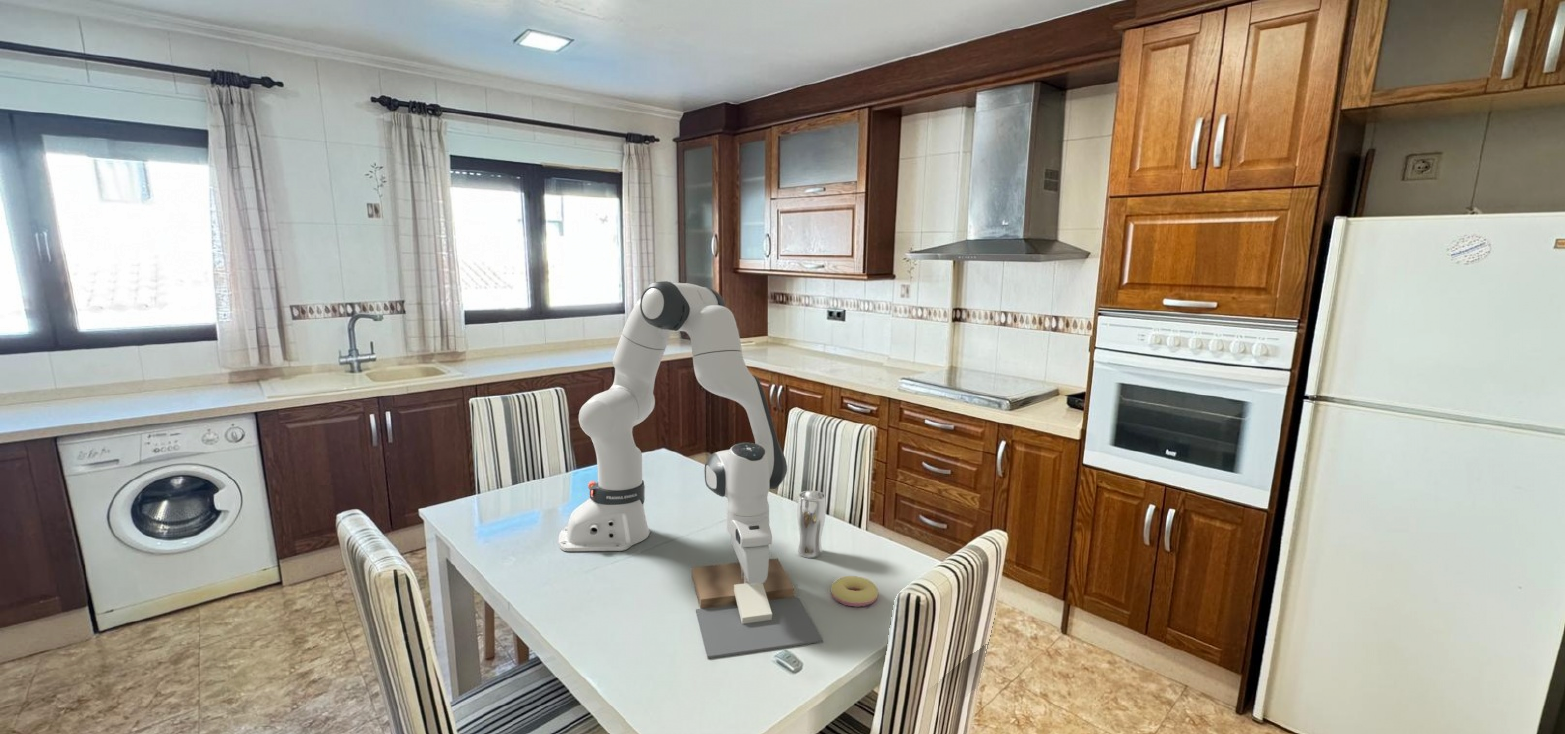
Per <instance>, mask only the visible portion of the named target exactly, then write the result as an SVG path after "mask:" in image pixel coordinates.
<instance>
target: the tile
mask: <svg viewBox="0 0 1565 734" xmlns="http://www.w3.org/2000/svg"><path fill="white" fill-rule="evenodd" d="M734 594H735V598H736V602H737V606H738V610H739V614H740V618H741V622H742V624H744V623H752V622H759V621H767V620H772V612H771V609H770V605H769V602H768V599H767V596H766V592H765V589H764V586H763V583H761V584H753V585H751V584H749V583H745V584H736V585H734Z"/></svg>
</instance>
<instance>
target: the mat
mask: <svg viewBox="0 0 1565 734" xmlns="http://www.w3.org/2000/svg"><path fill="white" fill-rule="evenodd" d="M768 602H769V605H770V609H771V612H772V620H767V621H759V622H752V623H744V624H742V622H741V618H740V614H739V610H738V606H737V604H733V605H725V606H717V607H709V608H700V607H699V608H695V612H696V617H697V621H698V624H699V629H700V633H701V637H702V641H703V645H704V649H705V654H706V658H707V660H708V659H715V658H716V657H717V658H722V656H723V657H730V656H736V655H744V654H749V653H758V652H764V651H770V650H776V649H777V650H779V649H784V648H785V647H786V648H792V646H793V647H798V646H797V645H800V646H805V645H804V644H807V645H812V643H814V644H819V643H820V642H821V643H823V642H824V639H823V638H822V635H821V634H820V632H819V631H818V629H817V627H816V625H815V624H814V622H813V619H812V618H811V616H810V614H809V613H808V611H807V609H806V607H805V605H804V603H803V602H802V600H801V598H800V596H794V597H790V598H782V599H774V600H768ZM810 643H811V644H810ZM821 643H820V644H821ZM729 655H730V656H729Z"/></svg>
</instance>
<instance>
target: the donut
mask: <svg viewBox="0 0 1565 734" xmlns="http://www.w3.org/2000/svg"><path fill="white" fill-rule="evenodd" d="M830 594H831V595H832V597H833V598H834V600H836V602H838V603H839V602H840V604H841V603H842V604H841V605H845V606H847V605H848V607H852V606H854V607H853V608H859V607H860V606H863V607H867V606H870V605H871V604H874V602H875V601H876V600H877V599H878V595H879V591H878V588H877V586H876V584H875V583H874V582H872V581H871V580H869V579H867V578H866V577H862V576H854V575H849V576H843V577H840V578H838V579H835V581H833V582H832V585H831V588H830ZM869 604H870V605H869ZM866 605H867V606H866ZM860 608H861V607H860Z"/></svg>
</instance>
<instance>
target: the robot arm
mask: <svg viewBox="0 0 1565 734" xmlns="http://www.w3.org/2000/svg"><path fill="white" fill-rule="evenodd" d="M673 332H685V333H686V334H687V336H688V337H689V338H690V342H691V343H690V344H691V351H692V352H691V353H692V355H691V356H692V363H693V364H692V365H693V370H694V375H695V377H696V380H697V382H698V384H699V385H700V386H702V388H704V389H705V390H706V391H707V392H710V393H711V394H714V395H716V396H718V397H721V398H726V399H729V400H731V401H734V402H736V403H738V404H739V405H740V406H742V407H743V408H744V410H745V411H746V413H747V417H748V421H749V423H750V427H751V431H752V434H753V438H754V442H755V443H753V442H739V443H736V444H734V445H732V446H731V447H730V449H725V450H720V451H717V452H716V451H715V452H713V453H712V454H711V455H710V456H709V457H708V459H707V460H706V462H705V464H704V482H705V485H706V487H707V488H708V489H709V490H710V491H711V492H712V493H714V494H716V495H718V496H719V497H721V498H726V499H727V506H726V531H727V533H729V534H730V544H731V546H732V549H733V551H734V553H735V555H736V557H737V560H738V562H740V565H741V572H742V580H743V582H744V584H745V583H749V584H751V585H753V584H761V583H765V582H766V579H767V576H768V566H769V559H770V545H772V544H773V535H772V529H771V526H770V504H769V501H768V497H769V496H768V495H769V491H770V490H775V489H777V488H778V487H779V486H781V484H782V482H783V481H784V480H785V478H786V475H787V473H788V465H787V460H786V457H785V455H784V451H783V450H782V448H781V447H782V446H781V445H780V442H779V440H778V436H777V433H776V429H775V426H774V423H773V418H772V415H771V413H770V408H769V405H768V402H767V398H766V395H765V392H764V389H763V387H762V384H761V381H760V379H759V378H758V377H757V376H755V375H754V374H752V373H751V371H750V370H749V369H748V367H747V365H746V363H745V360H744V357H743V356H744V355H743V349H742V343H741V338H740V333H739V329H738V326H737V322H736V318H735V316H734V313H733V312H732V311H731V310H730V309H729V308H728V307H726V303H725V300H724V298H723V297H722V295H721V294H720V293H719V292H717V291H716V290H714V289H712V288H710V287H707V286H700V285H697V284H694V283H693V284H692V283H689V282H685V283H682V282H671V281H667V280H665V281H662V280H661V281H656V282H652V283H650V284H649V285H647V286H646V287H645V289H644V290H643V291H642V293H641V297H640V298H639V299H638V300H637V302H636V303H635V305H634V306H633V308H632V310H631V311H630V313H629V315H628V317H627V319H626V322H625V324H624V326H623V329H622V332H621V335H620V338H619V340H618V343H617V346H616V349H615V351H614V355H613V357H612V365H613V368H614V379H613V383H612V385H611V386H610V388H609V389H607V390H605V391H602V392H599V393H596V394H594V395H593V396H591V398H589V399H588V400H587V401H586V402H585V403H584V404H583V405H582V406H581V408H580V409H579V413H578V423H579V426H580V428H581V429H582V431H583V432H584V433H585V435H587V436H588V437H590V439H591V441H592V443H593V444H592V445H593V447H594V451H595V456H596V464H597V465H596V466H597V468H596V470H597V482H596V481H595V480H591V481H589V482H588V485H587V486H588V489H589V498H588V499H587V500H585V501H584V502H583V503H581V504H580V505H579V506H577V507H576V508H575V509H574V510H572V512H571V514H570V516H569V519H568V522H567V526H565V527H563V528H562V529H561V531H560V532H559V535H558V546H559V548H560V549H561V551H564V552H617V551H618V552H620V551H626V550H629V548H631V547H632V546H633V545H636V544H639V543H640V542H642V541H644V540H646V539H647V538H648V537H649V536H650V529H649V526H648V522H647V518H646V512H645V505H644V503H645V499H646V494H645V493H646V490H645V489H646V485H645V481H644V480H643V453H642V451H641V450H640V448H639V447H637V446H636V443H635V440H634V436H633V435H634V434H633V428H634V427H635V426H637V425H639V424H640V423H642V422H644V421H645V420H646V419H647V418H648V417H649V416H650V415H651V413H652V412H653V410H655V405H656V398H655V395H654V389H655V381H656V377H657V373H658V370H659V367H660V365H661V362H662V359H663V357H664V354H665V352H666V349H667V346H668V342H669V340H670V337H671V335H672V333H673Z"/></svg>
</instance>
